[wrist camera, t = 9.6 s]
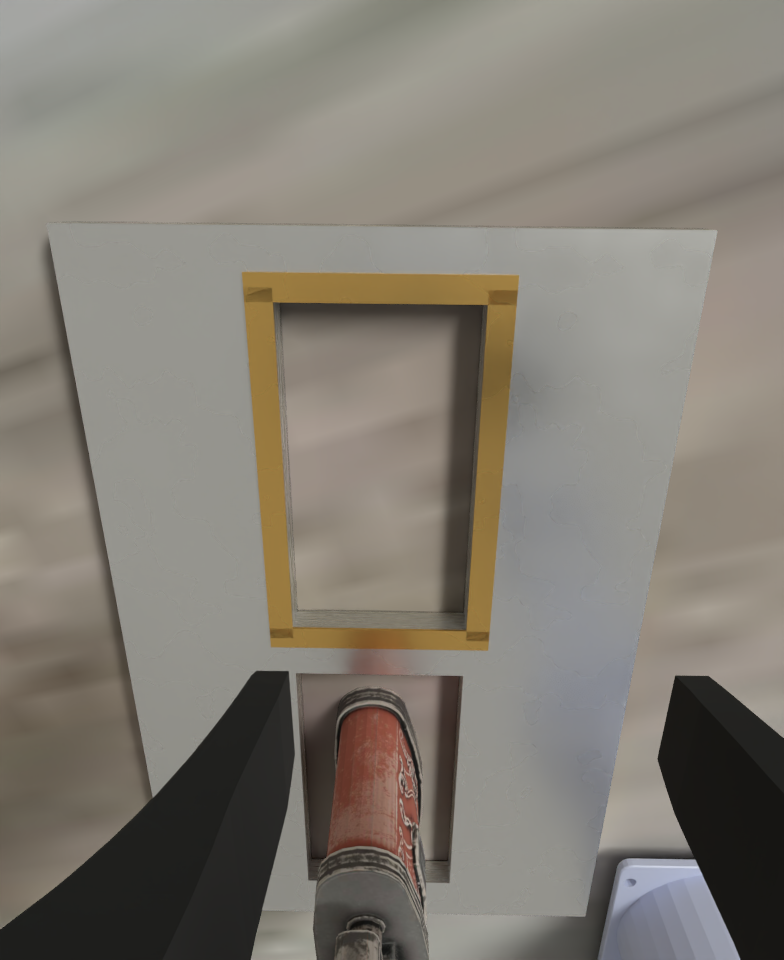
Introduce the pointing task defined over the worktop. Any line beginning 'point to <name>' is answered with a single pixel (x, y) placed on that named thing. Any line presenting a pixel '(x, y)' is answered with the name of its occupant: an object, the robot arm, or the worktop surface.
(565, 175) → the worktop surface
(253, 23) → the worktop surface
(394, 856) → the lighter
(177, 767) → the rail plate
